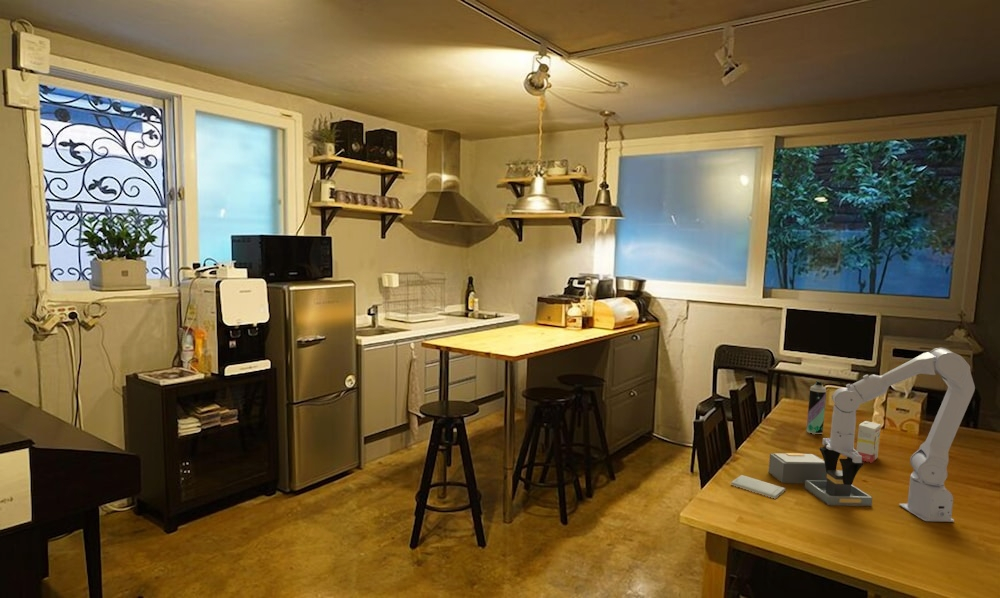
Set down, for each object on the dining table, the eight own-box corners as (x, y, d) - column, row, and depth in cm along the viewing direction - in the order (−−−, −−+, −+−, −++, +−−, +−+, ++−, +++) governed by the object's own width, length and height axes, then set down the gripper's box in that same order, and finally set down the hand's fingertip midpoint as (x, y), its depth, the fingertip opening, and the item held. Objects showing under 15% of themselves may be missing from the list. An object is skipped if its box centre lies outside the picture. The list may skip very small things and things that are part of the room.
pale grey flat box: (828, 483, 171) (829, 462, 170) (782, 482, 170) (783, 461, 170) (812, 472, 179) (813, 452, 178) (768, 472, 178) (769, 451, 178)
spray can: (803, 430, 222) (807, 380, 220) (814, 429, 224) (818, 379, 222) (814, 435, 217) (819, 383, 215) (826, 434, 219) (830, 382, 217)
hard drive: (730, 481, 167) (775, 495, 159) (741, 474, 173) (785, 487, 165) (730, 487, 167) (775, 501, 159) (741, 479, 173) (785, 492, 165)
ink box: (871, 463, 189) (875, 428, 188) (854, 459, 192) (857, 425, 191) (878, 457, 195) (881, 423, 194) (861, 453, 198) (865, 420, 197)
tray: (871, 506, 156) (872, 497, 156) (828, 505, 156) (828, 496, 156) (845, 488, 168) (846, 480, 167) (804, 488, 167) (805, 480, 167)
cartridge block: (850, 498, 160) (852, 476, 159) (834, 498, 160) (836, 475, 159) (841, 492, 164) (843, 470, 163) (825, 492, 164) (827, 470, 163)
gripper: (813, 423, 167) (810, 468, 168) (845, 439, 153) (841, 489, 154) (837, 423, 167) (833, 468, 169) (871, 440, 153) (866, 489, 154)
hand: (838, 478), depth 161 cm, fingers open, 7 cm apart
